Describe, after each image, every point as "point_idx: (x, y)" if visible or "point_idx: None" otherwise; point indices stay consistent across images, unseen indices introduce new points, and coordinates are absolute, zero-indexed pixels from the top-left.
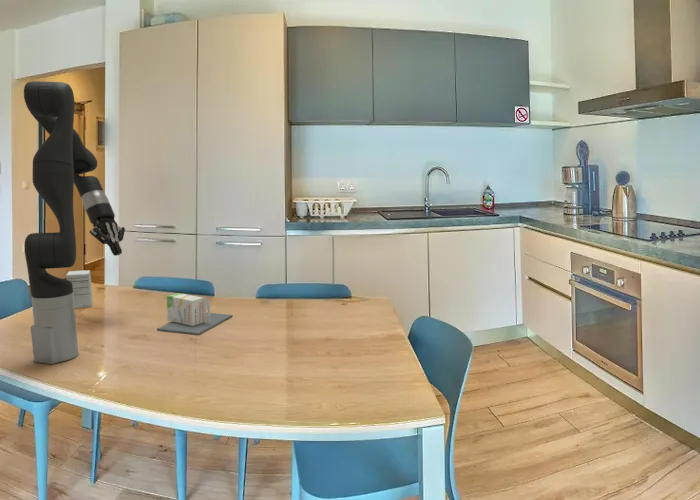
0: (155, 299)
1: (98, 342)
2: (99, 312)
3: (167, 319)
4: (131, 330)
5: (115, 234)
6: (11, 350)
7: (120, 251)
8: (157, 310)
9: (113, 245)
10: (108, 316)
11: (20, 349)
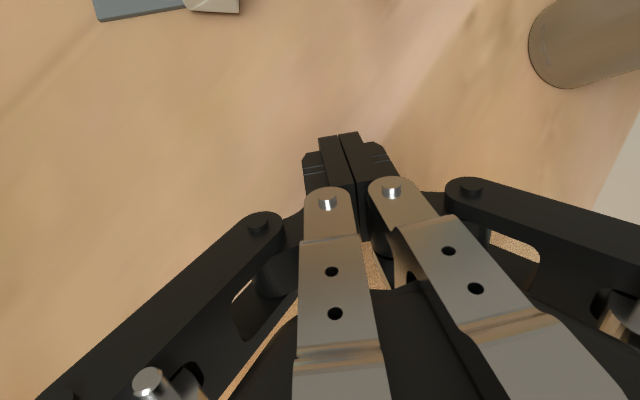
0: (50, 311)
1: (459, 54)
2: (278, 323)
3: (238, 11)
4: (348, 61)
5: (351, 234)
6: (587, 194)
7: (332, 137)
8: (154, 173)
9: (388, 175)
10: None
11: (574, 182)
